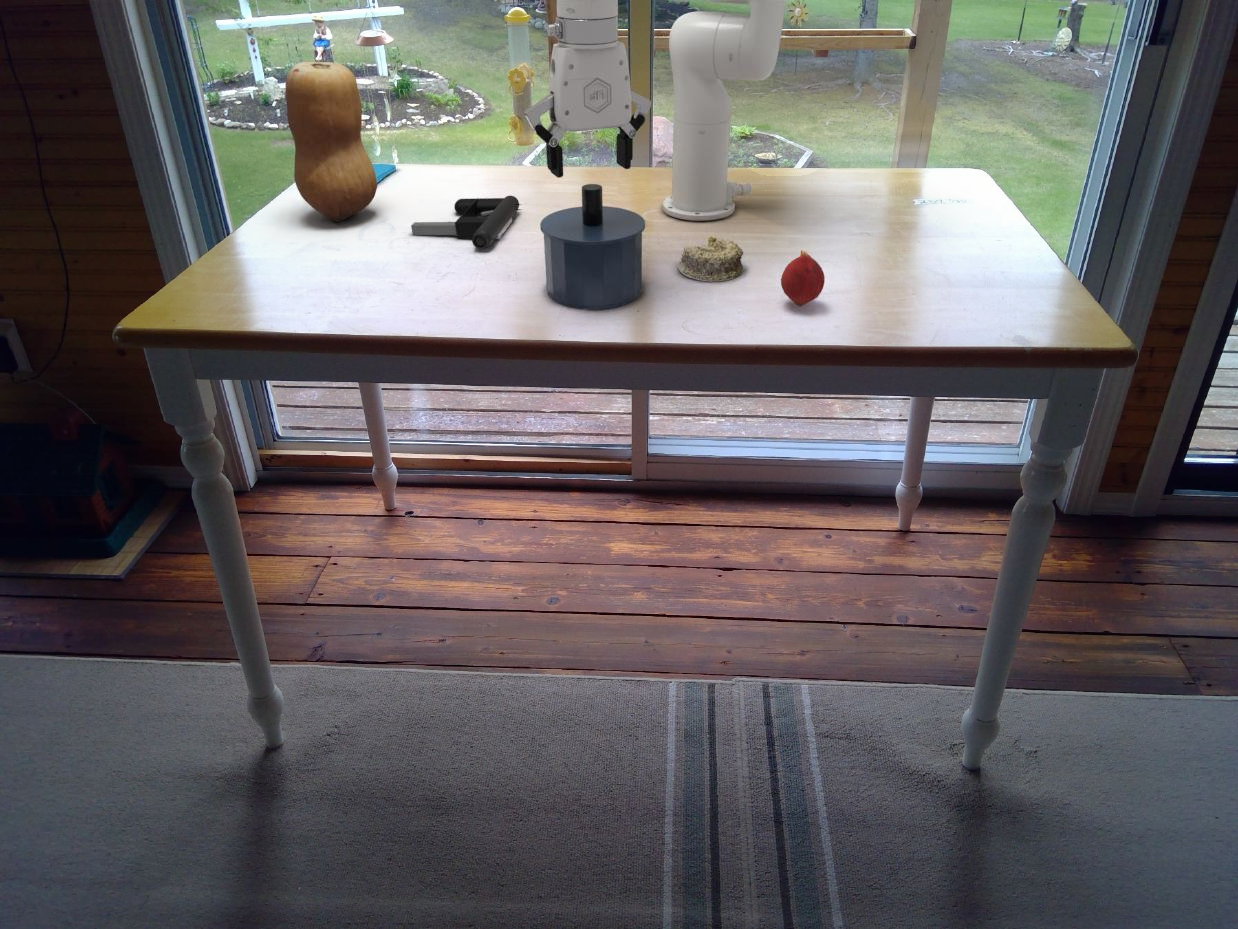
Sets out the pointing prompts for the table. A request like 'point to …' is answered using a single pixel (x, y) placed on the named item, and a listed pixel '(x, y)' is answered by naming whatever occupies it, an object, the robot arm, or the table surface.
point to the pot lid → (592, 221)
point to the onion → (802, 279)
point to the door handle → (474, 220)
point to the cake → (712, 261)
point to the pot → (593, 273)
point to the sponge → (383, 170)
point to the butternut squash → (329, 139)
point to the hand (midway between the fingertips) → (590, 170)
